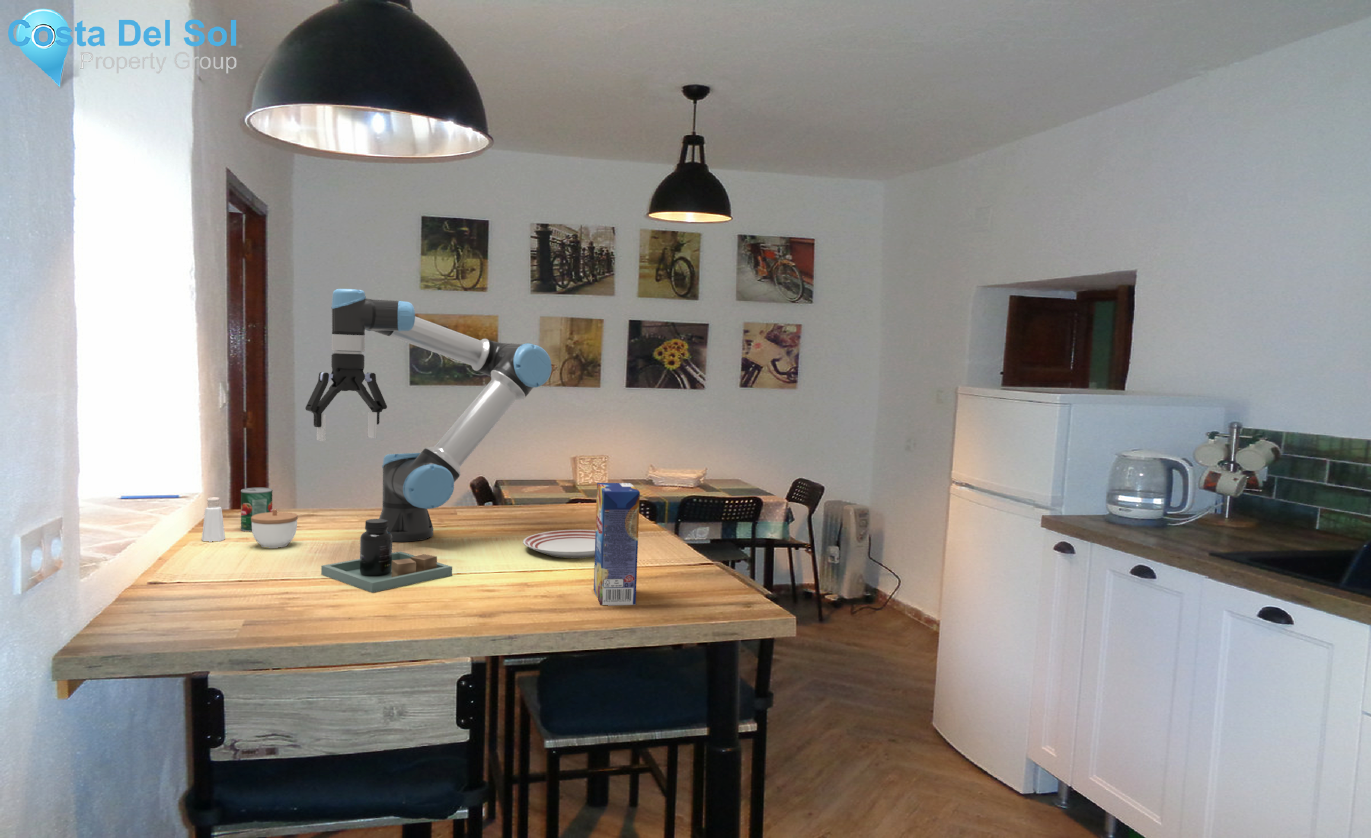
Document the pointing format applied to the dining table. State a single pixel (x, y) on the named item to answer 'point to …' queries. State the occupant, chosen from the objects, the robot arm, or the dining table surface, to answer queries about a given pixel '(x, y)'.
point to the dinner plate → (564, 543)
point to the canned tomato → (254, 505)
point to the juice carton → (616, 543)
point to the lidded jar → (274, 528)
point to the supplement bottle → (376, 548)
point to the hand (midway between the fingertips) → (347, 439)
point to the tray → (352, 576)
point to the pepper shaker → (213, 521)
